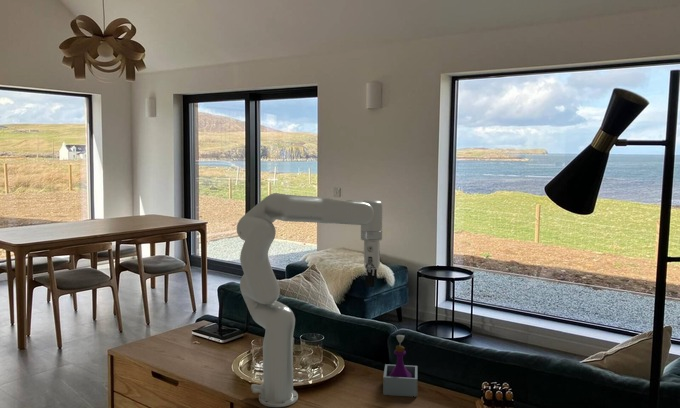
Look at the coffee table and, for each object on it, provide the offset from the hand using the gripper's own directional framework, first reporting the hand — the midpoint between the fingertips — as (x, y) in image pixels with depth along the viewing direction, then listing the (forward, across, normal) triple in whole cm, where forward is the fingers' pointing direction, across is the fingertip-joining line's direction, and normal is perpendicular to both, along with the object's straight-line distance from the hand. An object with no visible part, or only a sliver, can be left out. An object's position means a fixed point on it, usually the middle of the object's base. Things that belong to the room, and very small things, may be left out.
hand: (371, 283), depth 199 cm
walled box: (+33, -11, -11) cm, 37 cm away
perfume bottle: (+33, -11, -11) cm, 36 cm away
